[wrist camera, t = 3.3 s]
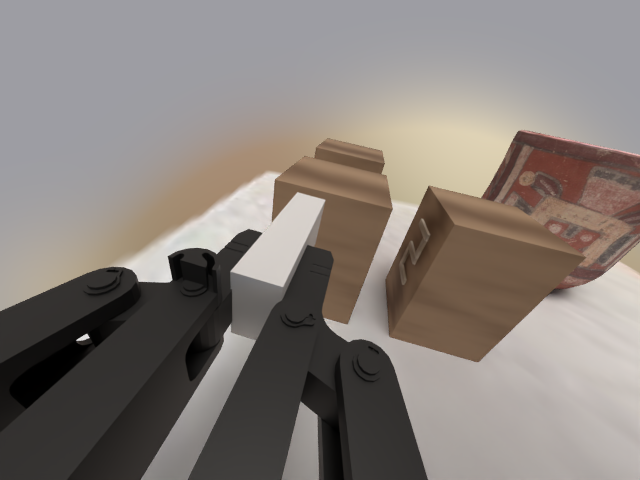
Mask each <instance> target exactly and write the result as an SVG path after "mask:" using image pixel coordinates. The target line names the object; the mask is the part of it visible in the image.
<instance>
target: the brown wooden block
mask: <svg viewBox="0 0 640 480" xmlns="http://www.w3.org/2000/svg"><path fill="white" fill-rule="evenodd" d="M297 192H298V193H302V194H306V195H309V196H313V197H317V198H320V199H324V200H325V204H324V209H323V213H322V217H321V222H320V226H319V230H318V235H317V239H316V243H315V246H314V247H317V248H320V249H324V250H327V251H331V253H332V256H333V259H334V262H333V266H332V270H331V274H330V278H329V282H328V287H327V291H326V295H325V299H324V303H323V307H322V315H323V318H327V319H330V320H334V321H337V322H341V323H344V324H348V321H349V319H350V316H351V314H352V311H353V309H354V306H355V304H356V301H357V299H358V296H359V293H360V291H361V288H362V286H363V283H364V281H365V278H366V276H367V273H368V270H369V268H370V265H371V263H372V260H373V258H374V255H375V253H376V250H377V247H378V245H379V242H380V240H381V237H382V235H383V232H384V230H385V227H386V224H387V222H388V219H389V217H390V214H391V212H392V209H393V208H392V203H391V198H390V192H389V187H388V182H387V176H386V175H382V174H378V173H374V172H370V171H366V170H361V169H357V168H353V167H349V166H345V165H341V164H336V163H332V162H328V161H324V160H320V159H315V158H311V157H307V156H304V157H303V158H302V159H300V160H299V161H298V162H297V163H295V164H294V165H293V166H291V167H290V168H289V169H288V170H286V171H285V172H284V173H283V174H281V175H280V176H279V177H278V178H276V179H275V185H274V198H273V212H272V222H273V221H274V219H275V218H276V217H277V216H278V215H279V213H280V212H281V211H282V210H283V209H284V208H285V206H286V205H287V204H288V203H289V202H290V200H291V199H292V198H293V197H294V196H295V195H296V193H297Z"/></svg>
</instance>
